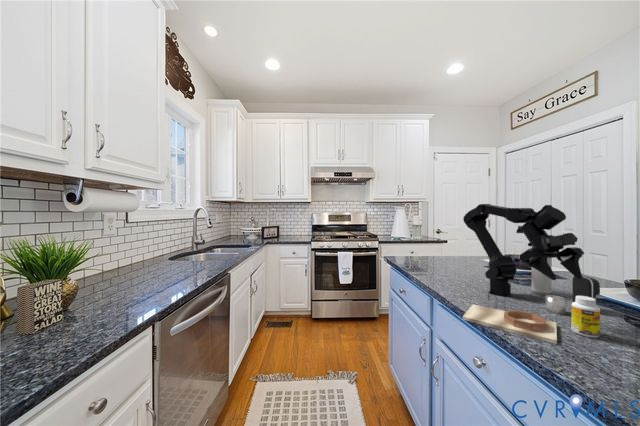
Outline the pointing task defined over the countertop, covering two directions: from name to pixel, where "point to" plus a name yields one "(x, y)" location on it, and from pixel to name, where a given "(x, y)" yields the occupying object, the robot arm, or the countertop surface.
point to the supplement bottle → (585, 317)
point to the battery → (585, 287)
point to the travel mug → (541, 281)
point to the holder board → (498, 319)
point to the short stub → (555, 304)
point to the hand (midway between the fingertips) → (567, 279)
